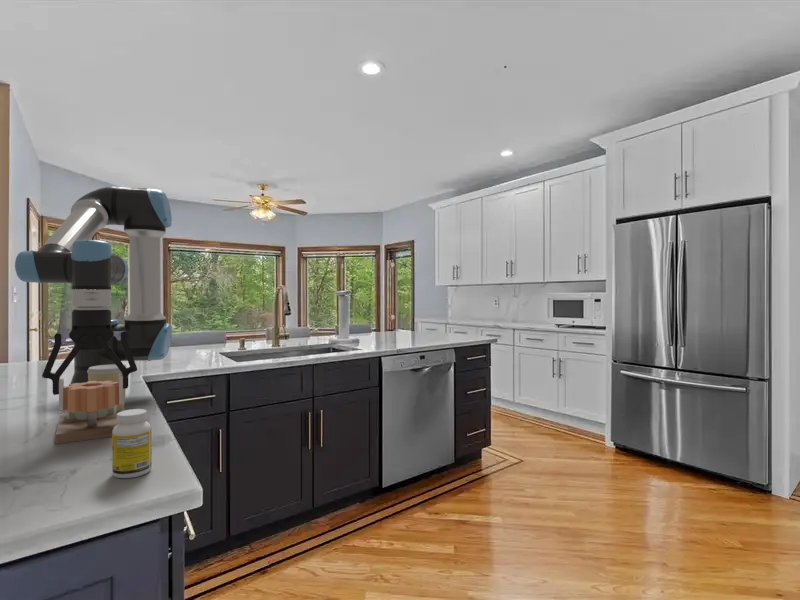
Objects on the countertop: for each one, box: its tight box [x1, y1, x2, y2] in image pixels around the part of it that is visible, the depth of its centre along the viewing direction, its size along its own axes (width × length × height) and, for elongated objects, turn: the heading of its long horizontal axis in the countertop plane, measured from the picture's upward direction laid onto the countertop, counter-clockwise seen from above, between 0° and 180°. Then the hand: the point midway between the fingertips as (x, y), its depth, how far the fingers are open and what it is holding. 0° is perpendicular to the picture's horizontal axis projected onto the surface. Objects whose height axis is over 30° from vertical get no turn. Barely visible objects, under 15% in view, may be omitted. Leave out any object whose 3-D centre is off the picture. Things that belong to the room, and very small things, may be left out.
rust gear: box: [62, 381, 119, 413], centre depth 108 cm, size 11×11×5 cm
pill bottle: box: [111, 408, 153, 479], centre depth 86 cm, size 6×6×11 cm
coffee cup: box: [87, 364, 128, 411], centre depth 130 cm, size 9×9×12 cm
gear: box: [65, 405, 117, 420], centre depth 118 cm, size 11×11×5 cm
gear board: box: [55, 408, 123, 445], centre depth 113 cm, size 20×13×9 cm, turn 33°
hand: (91, 405), depth 108 cm, fingers closed on rust gear, 11 cm apart
